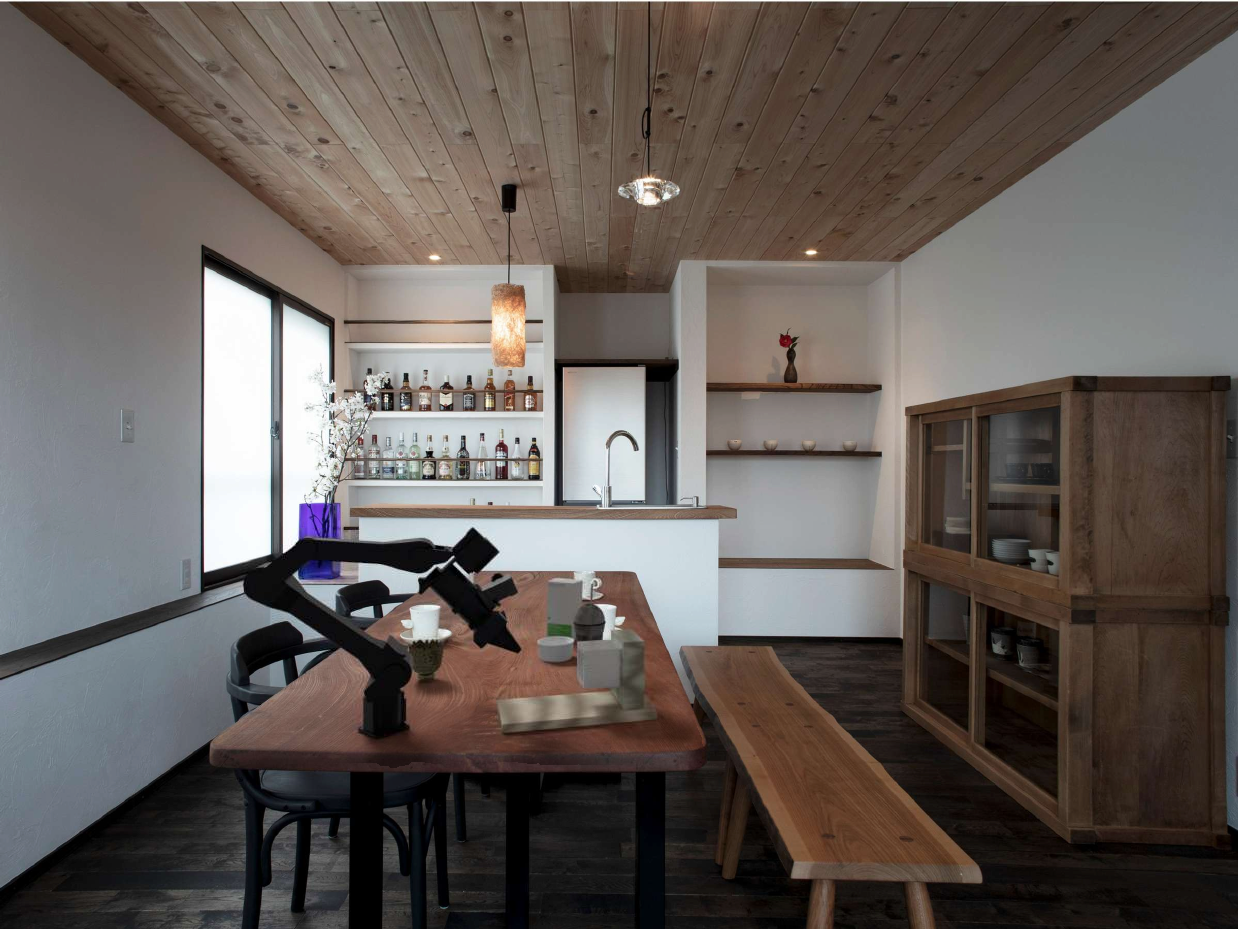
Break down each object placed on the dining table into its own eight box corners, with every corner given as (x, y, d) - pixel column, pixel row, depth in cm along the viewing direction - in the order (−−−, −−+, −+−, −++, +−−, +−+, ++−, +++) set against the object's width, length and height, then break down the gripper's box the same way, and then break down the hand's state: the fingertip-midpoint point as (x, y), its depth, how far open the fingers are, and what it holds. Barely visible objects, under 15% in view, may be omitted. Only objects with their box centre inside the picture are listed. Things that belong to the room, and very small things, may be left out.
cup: (434, 686, 145) (434, 648, 145) (401, 684, 147) (402, 646, 147) (449, 675, 152) (449, 639, 152) (419, 673, 154) (419, 637, 154)
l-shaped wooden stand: (502, 733, 119) (502, 652, 120) (497, 707, 132) (497, 634, 132) (657, 719, 126) (657, 642, 126) (638, 696, 139) (638, 626, 139)
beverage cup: (566, 676, 152) (566, 585, 152) (583, 667, 158) (583, 580, 159) (595, 681, 149) (595, 588, 149) (611, 672, 155) (611, 583, 155)
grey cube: (584, 689, 126) (584, 651, 126) (577, 678, 133) (577, 641, 133) (621, 686, 128) (621, 648, 128) (612, 675, 134) (612, 639, 134)
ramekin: (540, 665, 161) (540, 646, 161) (534, 655, 170) (534, 637, 170) (577, 662, 164) (577, 643, 164) (570, 652, 172) (570, 635, 172)
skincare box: (545, 639, 185) (545, 581, 185) (554, 633, 191) (554, 577, 191) (574, 641, 182) (574, 582, 182) (583, 635, 189) (583, 578, 189)
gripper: (494, 567, 116) (558, 630, 119) (488, 554, 135) (544, 609, 137) (446, 616, 115) (512, 679, 117) (446, 595, 133) (503, 650, 135)
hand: (519, 651), depth 127 cm, fingers closed
